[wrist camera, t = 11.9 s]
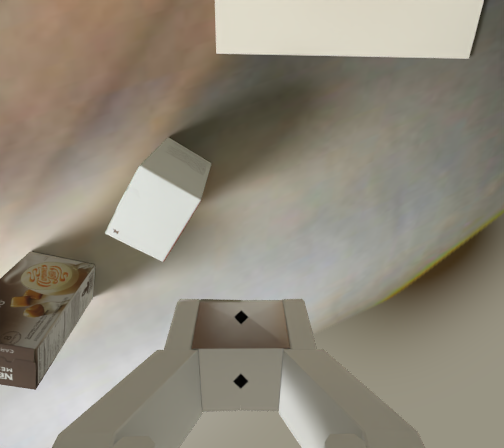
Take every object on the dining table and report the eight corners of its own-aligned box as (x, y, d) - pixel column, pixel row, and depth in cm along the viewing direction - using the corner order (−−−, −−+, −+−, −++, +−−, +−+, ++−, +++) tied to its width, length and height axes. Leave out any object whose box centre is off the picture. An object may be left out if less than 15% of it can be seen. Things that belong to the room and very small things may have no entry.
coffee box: (30, 286, 50) (-58, 378, 35) (30, 249, 47) (-66, 332, 32) (94, 298, 51) (35, 391, 36) (97, 263, 48) (34, 348, 34)
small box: (183, 212, 45) (162, 264, 33) (139, 188, 44) (101, 234, 32) (213, 162, 42) (202, 200, 30) (168, 135, 41) (138, 163, 29)
